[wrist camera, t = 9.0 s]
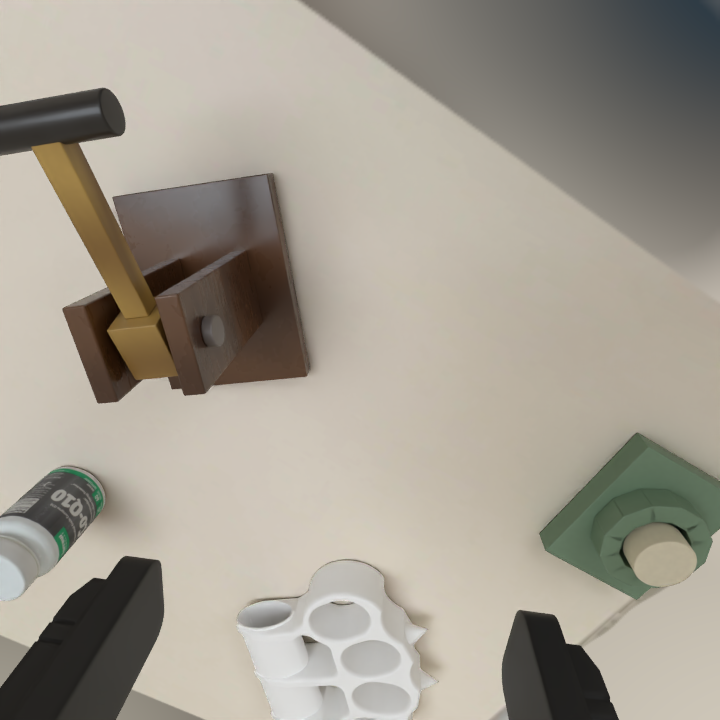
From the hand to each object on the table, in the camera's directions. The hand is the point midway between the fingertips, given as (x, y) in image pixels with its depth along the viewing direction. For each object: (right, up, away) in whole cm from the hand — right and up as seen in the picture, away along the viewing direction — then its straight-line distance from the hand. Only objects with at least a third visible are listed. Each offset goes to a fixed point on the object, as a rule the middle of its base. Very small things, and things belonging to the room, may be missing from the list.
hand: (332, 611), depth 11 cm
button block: (+19, -5, +23) cm, 31 cm away
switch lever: (-9, +11, +9) cm, 17 cm away
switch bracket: (-8, +10, +19) cm, 23 cm away
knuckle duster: (-1, -18, +31) cm, 36 cm away
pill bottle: (-21, -4, +27) cm, 34 cm away
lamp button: (+19, -6, +21) cm, 29 cm away
